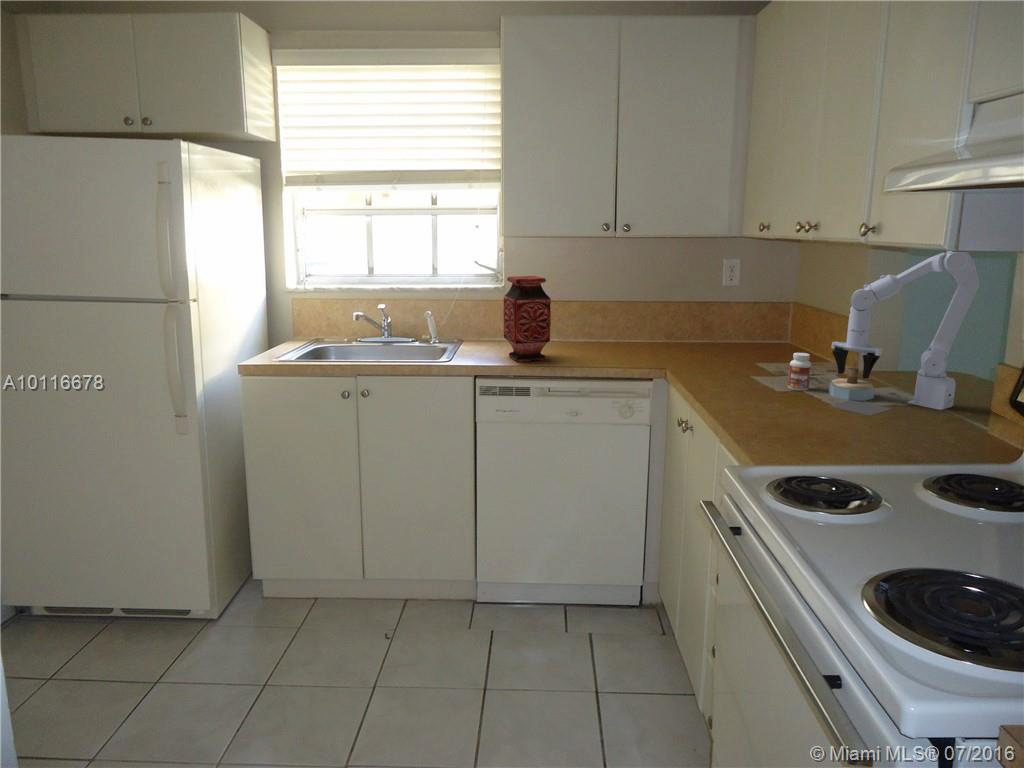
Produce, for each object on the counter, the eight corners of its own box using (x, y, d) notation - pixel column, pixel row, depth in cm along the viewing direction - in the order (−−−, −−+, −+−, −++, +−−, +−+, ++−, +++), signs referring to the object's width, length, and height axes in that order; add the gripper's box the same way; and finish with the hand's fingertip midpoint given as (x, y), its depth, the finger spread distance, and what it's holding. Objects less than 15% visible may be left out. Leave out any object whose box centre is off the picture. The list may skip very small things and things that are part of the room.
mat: (892, 410, 207) (892, 408, 206) (869, 416, 200) (869, 415, 199) (851, 401, 216) (851, 399, 216) (828, 407, 209) (828, 406, 209)
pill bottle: (787, 390, 229) (790, 354, 226) (787, 385, 234) (791, 351, 232) (808, 392, 227) (812, 356, 224) (808, 387, 232) (812, 352, 230)
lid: (879, 389, 215) (882, 372, 214) (844, 390, 214) (846, 373, 213) (858, 380, 226) (860, 364, 225) (824, 381, 225) (826, 365, 224)
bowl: (879, 397, 220) (881, 386, 219) (859, 403, 213) (860, 391, 213) (843, 390, 229) (844, 379, 228) (822, 395, 222) (823, 384, 222)
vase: (537, 354, 284) (538, 275, 277) (550, 361, 271) (551, 278, 264) (503, 356, 280) (503, 276, 273) (514, 363, 267) (514, 279, 260)
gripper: (889, 332, 213) (884, 378, 216) (842, 326, 225) (837, 369, 228) (877, 334, 209) (871, 381, 212) (829, 328, 220) (824, 372, 224)
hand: (853, 375), depth 220 cm, fingers open, 7 cm apart
